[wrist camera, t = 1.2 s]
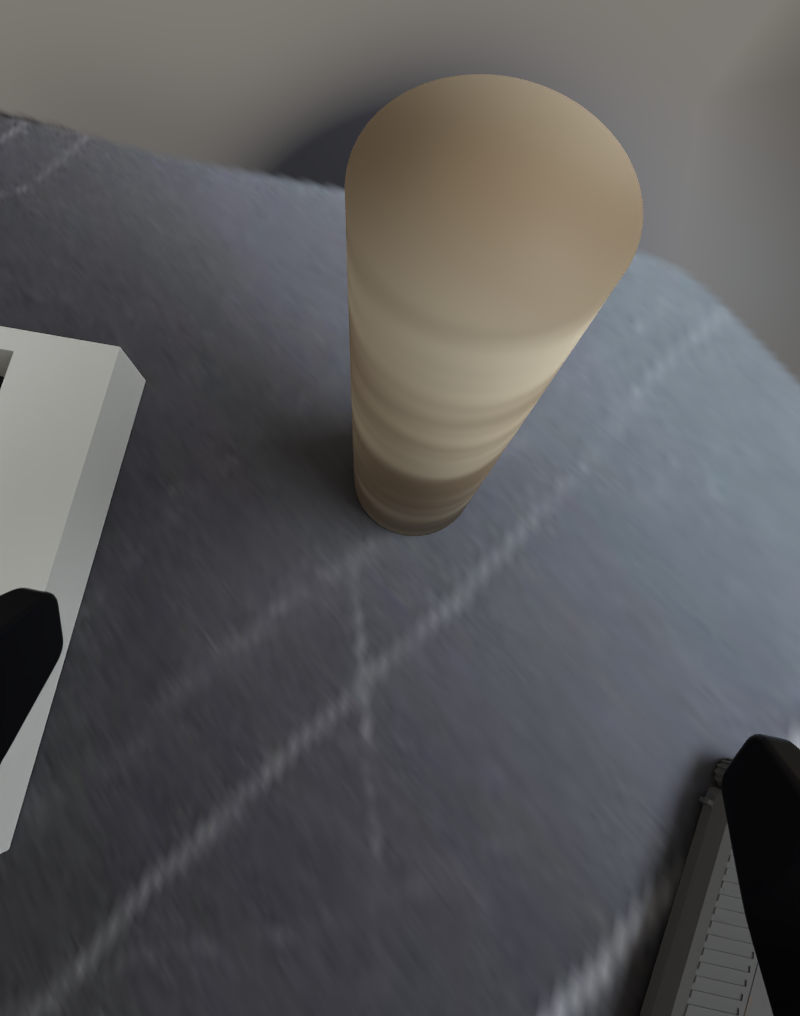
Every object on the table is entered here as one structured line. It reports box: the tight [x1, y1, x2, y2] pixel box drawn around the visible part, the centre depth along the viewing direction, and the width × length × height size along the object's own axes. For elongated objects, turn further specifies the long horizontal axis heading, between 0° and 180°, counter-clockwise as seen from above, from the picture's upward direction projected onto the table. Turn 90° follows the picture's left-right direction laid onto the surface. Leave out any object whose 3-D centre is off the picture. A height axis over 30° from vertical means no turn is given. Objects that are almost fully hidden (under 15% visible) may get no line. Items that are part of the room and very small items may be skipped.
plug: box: [345, 74, 643, 536], centre depth 16 cm, size 4×4×14 cm
